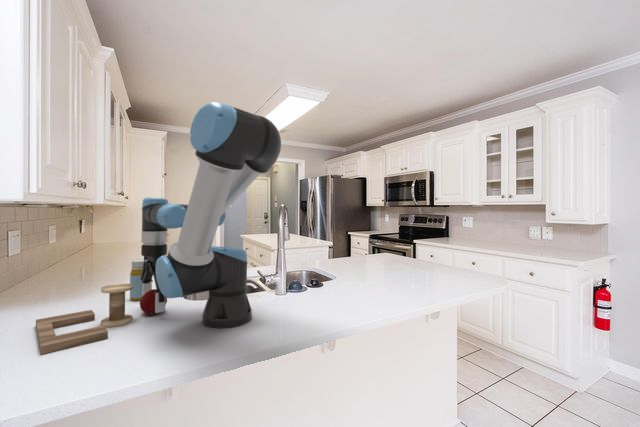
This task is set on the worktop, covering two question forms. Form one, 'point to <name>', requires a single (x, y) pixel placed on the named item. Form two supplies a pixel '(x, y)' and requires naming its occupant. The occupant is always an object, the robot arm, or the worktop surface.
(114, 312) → the bobbin
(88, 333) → the notched board
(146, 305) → the apple
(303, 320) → the worktop surface
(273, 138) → the robot arm
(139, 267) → the bottle
